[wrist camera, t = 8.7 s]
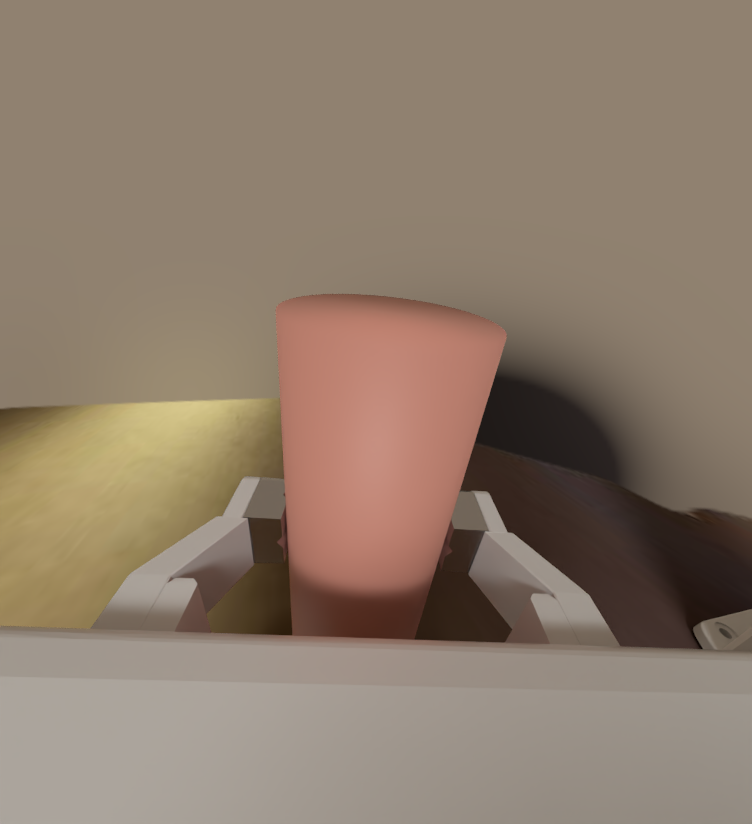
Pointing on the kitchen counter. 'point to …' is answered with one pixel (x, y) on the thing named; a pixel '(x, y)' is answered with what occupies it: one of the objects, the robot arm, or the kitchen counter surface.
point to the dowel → (375, 452)
